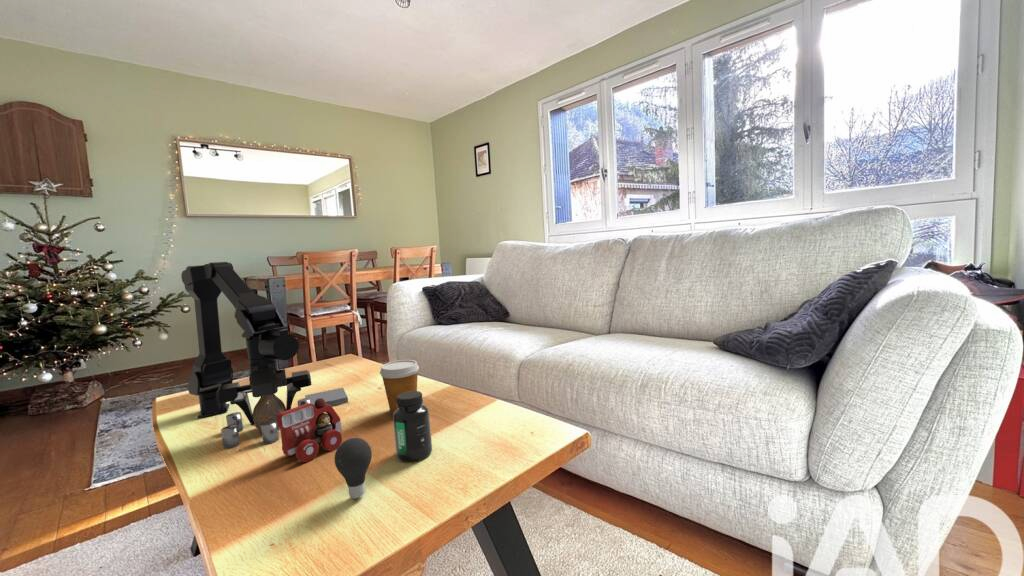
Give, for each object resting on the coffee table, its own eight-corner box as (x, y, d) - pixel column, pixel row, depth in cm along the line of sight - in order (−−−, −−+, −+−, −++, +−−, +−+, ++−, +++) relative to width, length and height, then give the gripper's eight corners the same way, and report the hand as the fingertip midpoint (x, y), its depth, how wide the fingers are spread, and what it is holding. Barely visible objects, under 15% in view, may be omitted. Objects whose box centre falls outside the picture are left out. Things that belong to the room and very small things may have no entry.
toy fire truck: (351, 442, 88) (346, 395, 87) (292, 470, 78) (286, 417, 77) (332, 435, 92) (327, 390, 91) (274, 461, 82) (268, 410, 81)
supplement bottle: (402, 467, 76) (397, 404, 75) (392, 453, 82) (386, 394, 81) (437, 455, 80) (432, 395, 79) (425, 442, 86) (420, 386, 84)
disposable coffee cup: (430, 407, 105) (426, 361, 104) (402, 421, 97) (397, 372, 96) (404, 401, 110) (400, 357, 109) (375, 415, 102) (370, 367, 101)
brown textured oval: (294, 422, 101) (290, 387, 100) (275, 435, 94) (271, 398, 93) (268, 423, 101) (263, 388, 101) (247, 436, 95) (242, 399, 94)
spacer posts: (230, 426, 101) (228, 410, 101) (311, 408, 110) (309, 393, 109) (220, 455, 85) (218, 437, 85) (316, 432, 94) (314, 415, 94)
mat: (305, 400, 116) (305, 395, 116) (343, 392, 121) (342, 387, 121) (307, 411, 108) (306, 406, 107) (348, 402, 112) (347, 397, 112)
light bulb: (345, 490, 70) (339, 433, 69) (379, 486, 70) (373, 430, 69) (334, 510, 64) (327, 449, 63) (370, 506, 65) (364, 445, 64)
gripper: (208, 372, 84) (218, 445, 86) (309, 355, 93) (316, 422, 95) (215, 361, 94) (224, 426, 96) (306, 347, 103) (313, 407, 105)
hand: (270, 420), depth 97 cm, fingers closed on brown textured oval, 7 cm apart
